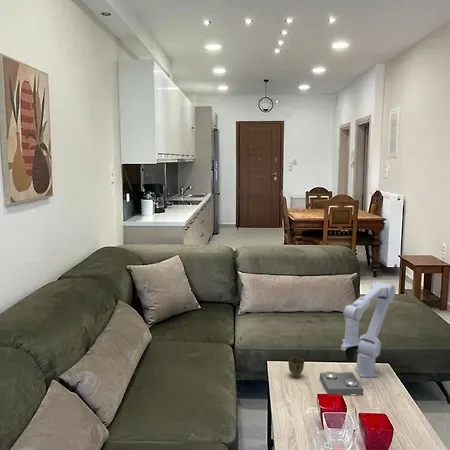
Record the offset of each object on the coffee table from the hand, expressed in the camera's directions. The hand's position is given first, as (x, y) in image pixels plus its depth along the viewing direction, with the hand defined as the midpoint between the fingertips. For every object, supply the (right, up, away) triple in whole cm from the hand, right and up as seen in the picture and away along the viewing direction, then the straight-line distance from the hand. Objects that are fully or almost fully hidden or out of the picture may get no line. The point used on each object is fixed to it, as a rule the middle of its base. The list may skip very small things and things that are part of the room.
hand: (349, 361), depth 210 cm
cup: (-23, -9, +8) cm, 26 cm away
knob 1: (-8, -10, +1) cm, 13 cm away
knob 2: (-1, -11, -5) cm, 12 cm away
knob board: (-5, -11, -2) cm, 12 cm away
